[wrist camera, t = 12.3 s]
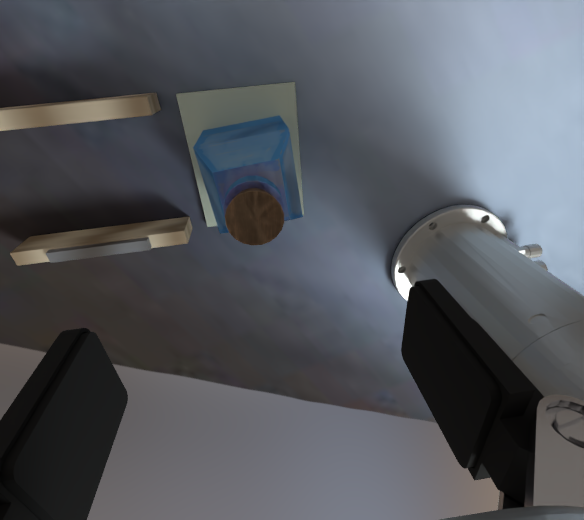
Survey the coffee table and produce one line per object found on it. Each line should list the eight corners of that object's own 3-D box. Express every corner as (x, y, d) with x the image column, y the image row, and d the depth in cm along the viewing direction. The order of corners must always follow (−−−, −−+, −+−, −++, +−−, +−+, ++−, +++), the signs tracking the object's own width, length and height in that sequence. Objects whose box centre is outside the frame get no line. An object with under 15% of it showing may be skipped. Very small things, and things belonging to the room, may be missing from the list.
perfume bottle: (202, 130, 26) (177, 174, 16) (279, 115, 26) (303, 149, 16) (223, 202, 29) (214, 277, 19) (292, 189, 30) (318, 256, 19)
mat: (293, 81, 26) (295, 82, 25) (302, 212, 31) (303, 214, 31) (177, 93, 25) (175, 94, 25) (208, 224, 31) (207, 227, 30)
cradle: (156, 92, 25) (144, 96, 22) (192, 228, 31) (186, 246, 28) (-40, 112, 24) (-81, 119, 21) (36, 248, 30) (13, 269, 27)
